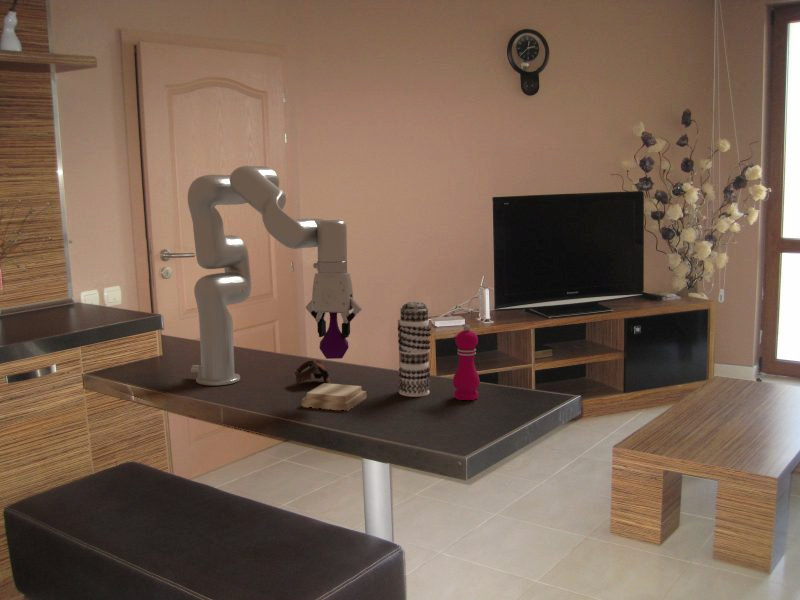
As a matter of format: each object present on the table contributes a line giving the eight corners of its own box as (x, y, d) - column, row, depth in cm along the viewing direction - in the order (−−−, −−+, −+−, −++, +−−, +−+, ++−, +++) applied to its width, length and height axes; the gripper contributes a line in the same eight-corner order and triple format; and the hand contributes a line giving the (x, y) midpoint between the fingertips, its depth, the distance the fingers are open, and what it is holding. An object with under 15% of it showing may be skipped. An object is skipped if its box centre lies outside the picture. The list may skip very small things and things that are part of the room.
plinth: (301, 406, 201) (301, 393, 201) (322, 394, 214) (322, 381, 213) (348, 411, 197) (347, 397, 197) (366, 398, 210) (366, 385, 209)
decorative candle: (392, 395, 212) (392, 304, 209) (404, 387, 221) (404, 300, 217) (424, 398, 209) (424, 306, 206) (435, 390, 218) (435, 301, 214)
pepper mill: (482, 395, 212) (483, 323, 209) (476, 402, 205) (476, 327, 202) (456, 393, 214) (457, 322, 211) (449, 400, 207) (450, 326, 204)
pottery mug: (331, 390, 220) (316, 367, 217) (303, 403, 222) (288, 380, 219) (336, 370, 231) (322, 348, 228) (309, 382, 233) (295, 361, 231)
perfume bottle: (320, 354, 207) (318, 287, 205) (348, 353, 208) (347, 286, 205) (319, 360, 200) (318, 291, 197) (348, 359, 200) (347, 290, 198)
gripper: (295, 268, 200) (297, 337, 202) (358, 270, 194) (359, 341, 197) (308, 265, 207) (310, 332, 209) (369, 267, 201) (369, 336, 204)
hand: (333, 336), depth 203 cm, fingers closed on perfume bottle, 5 cm apart
